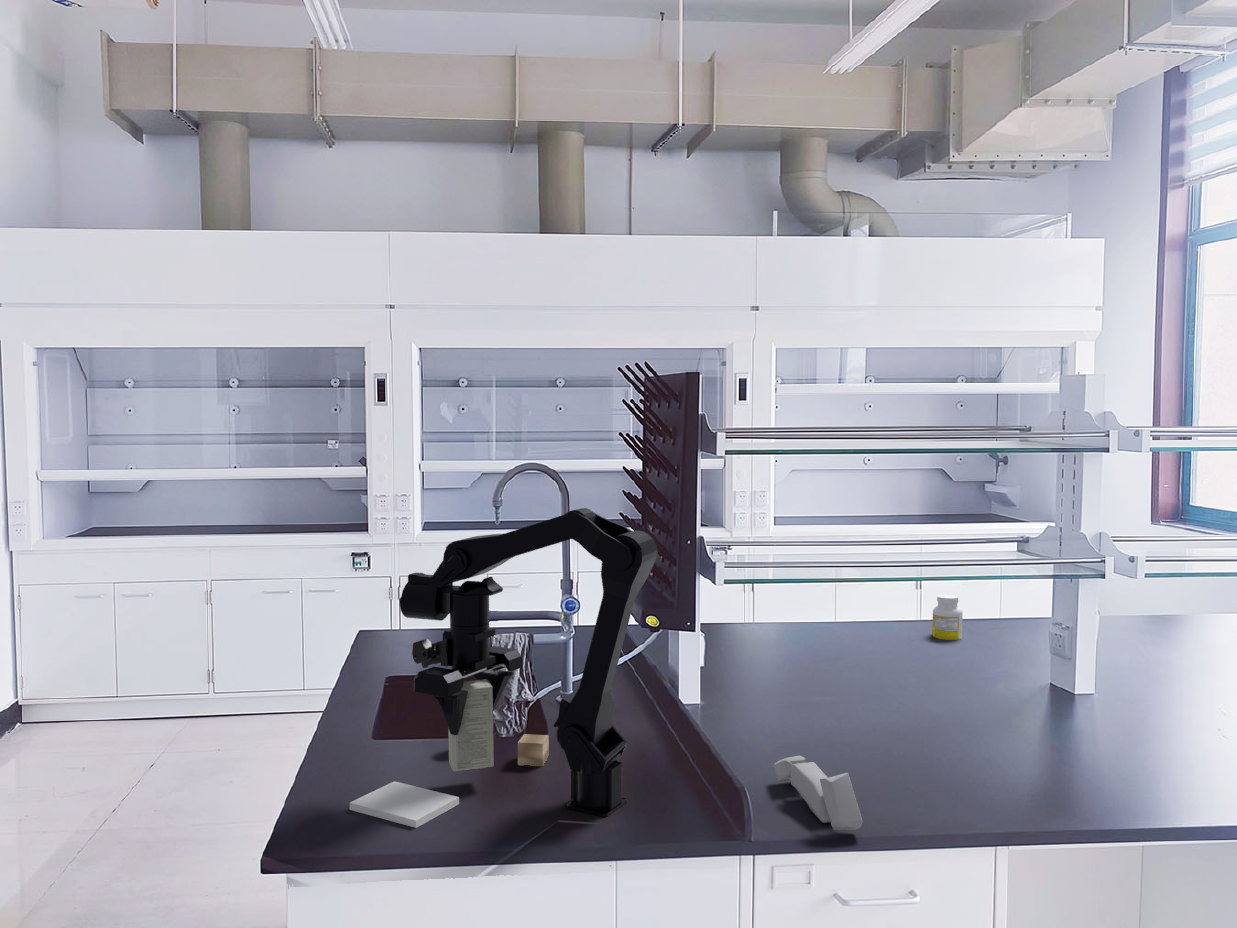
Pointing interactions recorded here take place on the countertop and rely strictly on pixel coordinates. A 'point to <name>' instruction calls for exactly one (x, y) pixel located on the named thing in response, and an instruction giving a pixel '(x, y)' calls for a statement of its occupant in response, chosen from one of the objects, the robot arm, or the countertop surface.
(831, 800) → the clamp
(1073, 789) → the countertop surface
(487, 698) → the skincare box
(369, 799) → the grey mat
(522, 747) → the oak block
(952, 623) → the supplement bottle
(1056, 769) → the countertop surface
